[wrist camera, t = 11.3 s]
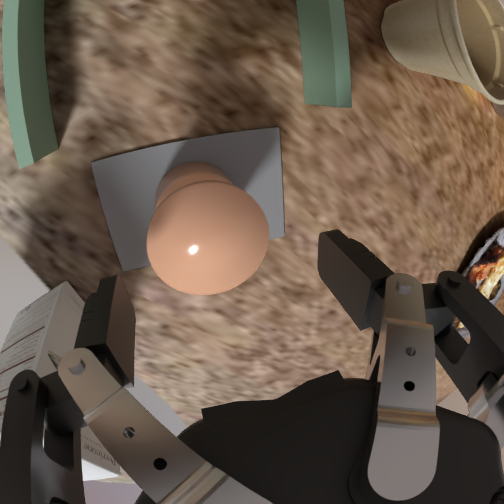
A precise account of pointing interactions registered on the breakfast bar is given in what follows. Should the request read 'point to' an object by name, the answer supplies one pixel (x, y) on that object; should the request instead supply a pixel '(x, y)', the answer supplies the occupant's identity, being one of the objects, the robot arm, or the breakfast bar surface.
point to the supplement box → (51, 361)
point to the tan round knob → (205, 230)
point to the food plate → (486, 272)
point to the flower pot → (450, 41)
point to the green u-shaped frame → (36, 85)
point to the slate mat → (176, 153)
